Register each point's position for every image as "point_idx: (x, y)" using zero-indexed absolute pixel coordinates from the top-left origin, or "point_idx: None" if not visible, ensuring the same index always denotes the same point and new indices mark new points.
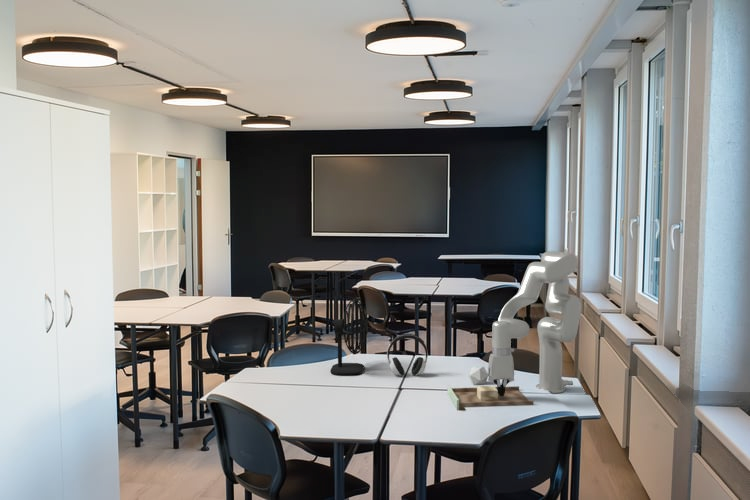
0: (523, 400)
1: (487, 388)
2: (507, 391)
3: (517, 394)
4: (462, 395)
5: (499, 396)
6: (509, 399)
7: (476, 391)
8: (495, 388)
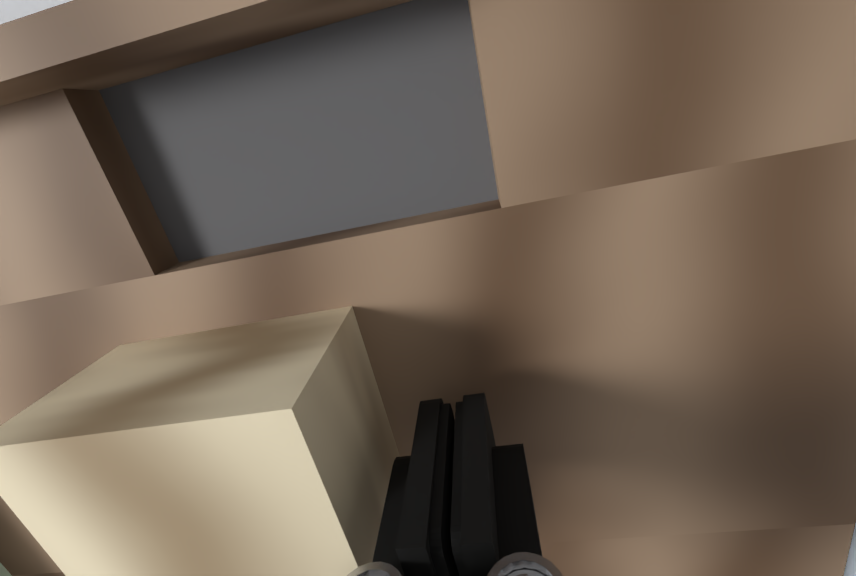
0: (767, 513)
1: (200, 565)
2: (645, 1)
3: (797, 229)
4: None
5: (444, 360)
6: (575, 479)
7: (26, 100)
8: (348, 567)
